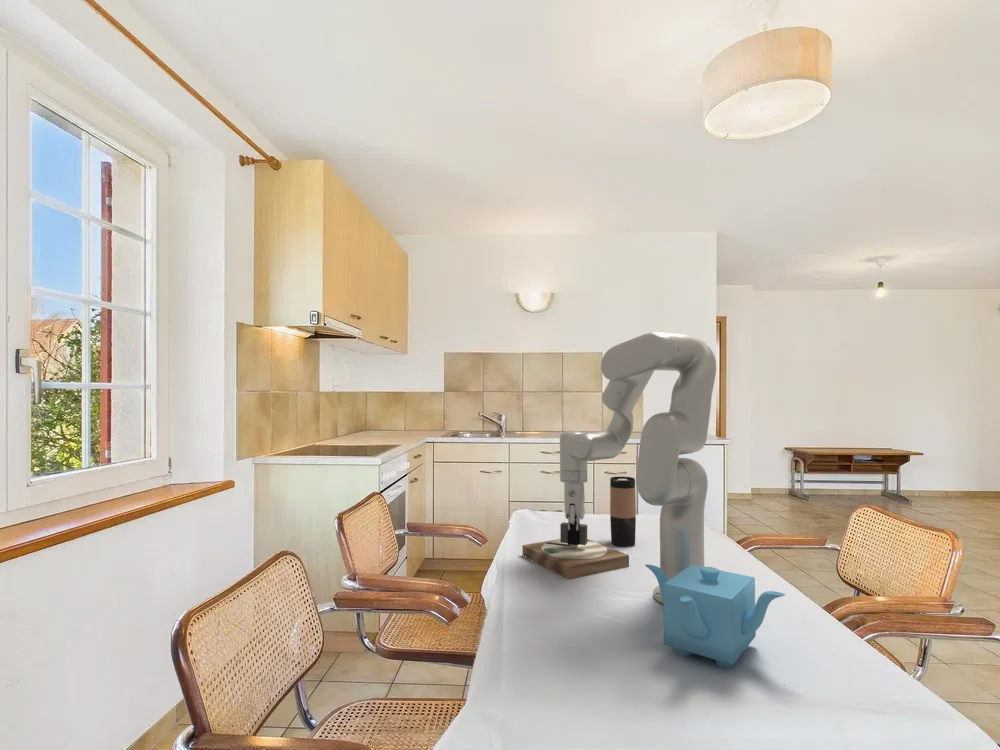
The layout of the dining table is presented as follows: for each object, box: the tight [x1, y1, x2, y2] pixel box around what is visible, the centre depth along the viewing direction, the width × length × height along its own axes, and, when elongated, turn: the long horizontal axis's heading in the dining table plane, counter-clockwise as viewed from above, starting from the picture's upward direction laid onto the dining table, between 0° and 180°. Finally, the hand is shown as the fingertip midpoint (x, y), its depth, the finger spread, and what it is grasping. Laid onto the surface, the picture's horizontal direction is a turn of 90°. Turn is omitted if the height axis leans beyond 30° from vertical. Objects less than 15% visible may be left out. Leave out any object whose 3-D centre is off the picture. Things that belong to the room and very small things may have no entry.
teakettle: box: [644, 564, 786, 670], centre depth 99 cm, size 19×19×15 cm
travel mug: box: [609, 476, 637, 548], centre depth 167 cm, size 8×8×20 cm
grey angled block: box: [546, 522, 588, 548], centre depth 151 cm, size 12×2×6 cm, turn 67°
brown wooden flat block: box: [522, 538, 630, 580], centre depth 150 cm, size 22×20×4 cm
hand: (574, 541), depth 150 cm, fingers closed on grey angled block, 3 cm apart
